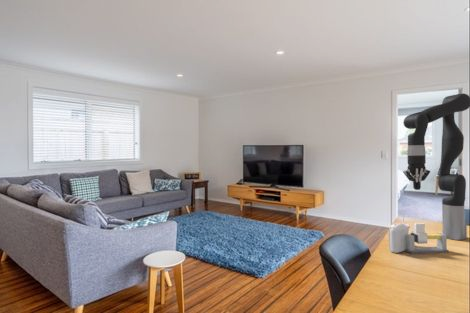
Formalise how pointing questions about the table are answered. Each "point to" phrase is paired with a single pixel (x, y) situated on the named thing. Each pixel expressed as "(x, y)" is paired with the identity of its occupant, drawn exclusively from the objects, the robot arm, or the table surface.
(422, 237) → the white stepped block
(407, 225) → the smoothie
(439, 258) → the table surface
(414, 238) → the slider rail
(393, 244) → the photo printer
